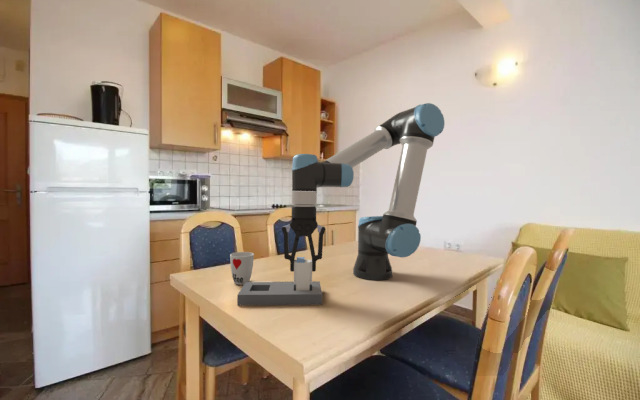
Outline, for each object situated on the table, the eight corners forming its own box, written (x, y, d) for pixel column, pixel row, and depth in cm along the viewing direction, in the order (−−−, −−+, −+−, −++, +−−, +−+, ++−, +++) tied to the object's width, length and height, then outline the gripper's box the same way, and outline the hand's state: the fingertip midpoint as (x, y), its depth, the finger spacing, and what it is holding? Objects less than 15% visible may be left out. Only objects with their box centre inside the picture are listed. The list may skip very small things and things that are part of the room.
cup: (225, 282, 103) (225, 254, 103) (245, 277, 109) (245, 250, 109) (237, 287, 98) (238, 258, 98) (258, 282, 104) (258, 254, 103)
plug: (309, 291, 92) (309, 257, 92) (309, 295, 88) (309, 260, 88) (296, 291, 92) (296, 257, 91) (296, 295, 88) (296, 260, 87)
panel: (319, 290, 96) (319, 280, 96) (322, 304, 84) (322, 293, 84) (245, 290, 95) (245, 281, 95) (237, 305, 83) (237, 294, 83)
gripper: (330, 205, 93) (329, 278, 94) (276, 204, 92) (275, 278, 93) (333, 206, 86) (331, 285, 87) (274, 205, 85) (273, 285, 85)
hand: (302, 281), depth 90 cm, fingers closed on plug, 4 cm apart
